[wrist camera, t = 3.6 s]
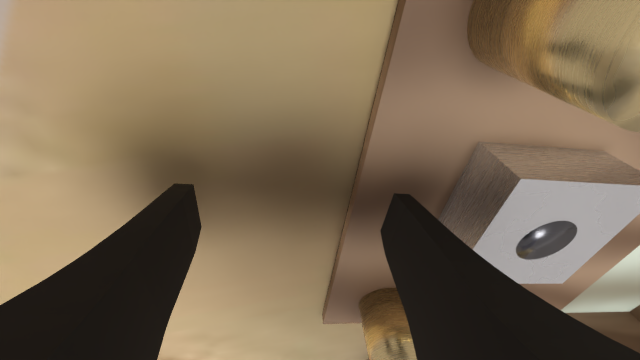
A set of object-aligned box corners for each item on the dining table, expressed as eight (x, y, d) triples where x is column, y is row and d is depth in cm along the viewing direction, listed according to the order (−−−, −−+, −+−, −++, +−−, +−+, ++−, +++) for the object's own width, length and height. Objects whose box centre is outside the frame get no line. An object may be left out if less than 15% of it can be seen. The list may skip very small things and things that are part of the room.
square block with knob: (526, 242, 14) (562, 283, 12) (427, 240, 14) (449, 284, 12) (604, 150, 11) (669, 187, 9) (478, 141, 10) (521, 179, 8)
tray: (622, 309, 22) (673, 360, 19) (322, 314, 18) (327, 377, 16) (1045, 19, 10) (1351, 37, 7) (424, -108, 7) (525, -171, 4)
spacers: (496, 313, 19) (544, 392, 15) (354, 316, 18) (369, 403, 14) (813, -15, 8) (1233, -7, 4) (501, -76, 7) (746, -135, 3)
